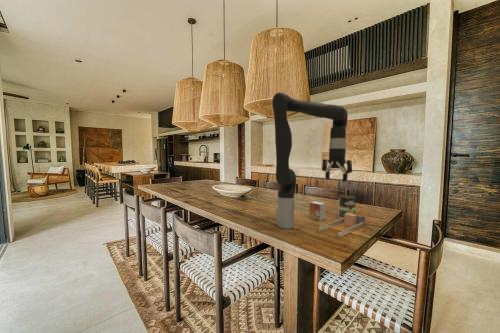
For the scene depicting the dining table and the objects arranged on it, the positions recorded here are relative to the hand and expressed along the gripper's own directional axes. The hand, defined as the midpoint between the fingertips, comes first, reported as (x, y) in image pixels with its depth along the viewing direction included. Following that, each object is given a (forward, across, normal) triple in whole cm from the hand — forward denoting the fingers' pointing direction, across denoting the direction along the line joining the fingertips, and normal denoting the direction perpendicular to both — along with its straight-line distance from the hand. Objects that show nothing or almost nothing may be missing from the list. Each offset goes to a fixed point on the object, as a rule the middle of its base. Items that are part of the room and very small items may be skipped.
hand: (335, 180), depth 105 cm
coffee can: (+29, -10, +37) cm, 48 cm away
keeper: (+29, -3, +26) cm, 38 cm away
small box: (+29, -22, +20) cm, 41 cm away
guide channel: (+29, -3, +14) cm, 32 cm away
